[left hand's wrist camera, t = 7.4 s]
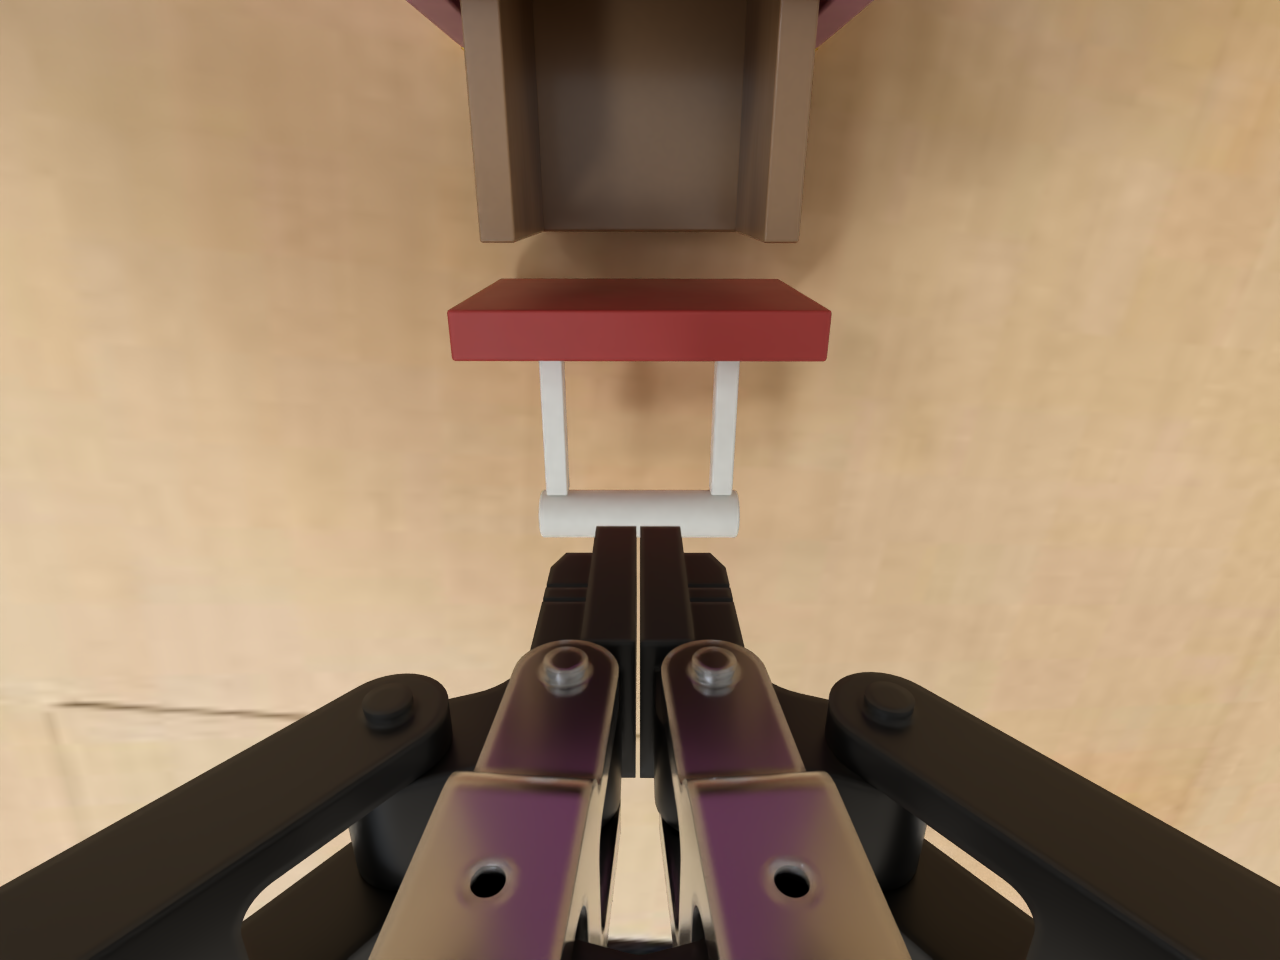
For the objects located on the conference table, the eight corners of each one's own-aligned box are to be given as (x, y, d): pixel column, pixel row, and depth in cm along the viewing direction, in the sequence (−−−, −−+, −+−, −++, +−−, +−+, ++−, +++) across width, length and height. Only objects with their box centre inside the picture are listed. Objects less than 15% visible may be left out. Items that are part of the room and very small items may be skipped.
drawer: (764, 473, 24) (805, 564, 18) (514, 473, 24) (473, 563, 18) (833, -413, 16) (952, -787, 10) (446, -413, 16) (328, -789, 10)
